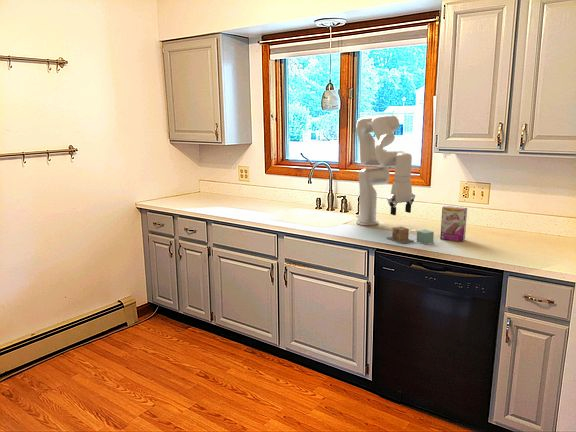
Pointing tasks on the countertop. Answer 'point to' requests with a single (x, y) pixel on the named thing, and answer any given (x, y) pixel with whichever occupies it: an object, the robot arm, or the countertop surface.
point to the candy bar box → (453, 223)
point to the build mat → (401, 241)
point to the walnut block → (400, 233)
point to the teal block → (425, 236)
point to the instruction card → (411, 229)
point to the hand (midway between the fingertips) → (400, 213)
